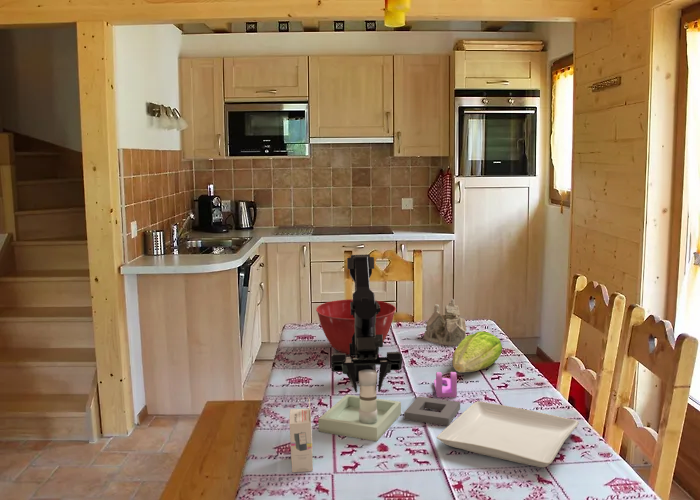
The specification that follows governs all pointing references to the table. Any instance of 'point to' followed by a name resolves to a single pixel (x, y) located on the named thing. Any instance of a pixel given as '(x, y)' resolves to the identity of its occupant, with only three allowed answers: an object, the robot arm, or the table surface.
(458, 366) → the lettuce
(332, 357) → the robot arm
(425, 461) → the table surface
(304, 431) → the ink box
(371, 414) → the cream salt shaker
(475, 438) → the square plate
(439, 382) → the bracket
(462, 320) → the ceramic cottage
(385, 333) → the mixing bowl
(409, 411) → the fuse holder
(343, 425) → the tray
